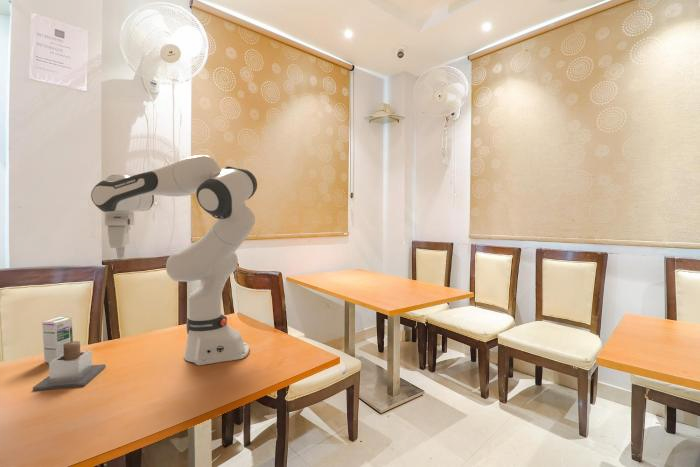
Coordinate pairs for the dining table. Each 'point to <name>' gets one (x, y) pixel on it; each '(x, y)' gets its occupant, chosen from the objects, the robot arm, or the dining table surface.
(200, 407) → the dining table surface
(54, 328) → the syrup box
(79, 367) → the square collar
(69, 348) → the walnut peg
